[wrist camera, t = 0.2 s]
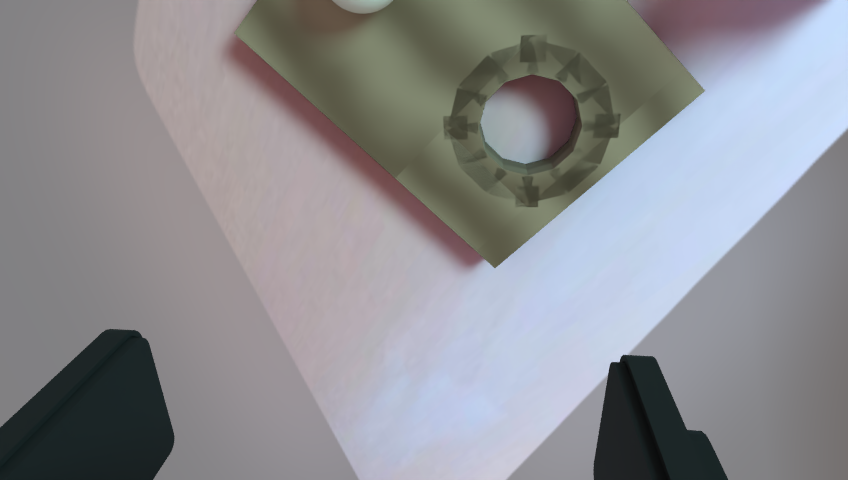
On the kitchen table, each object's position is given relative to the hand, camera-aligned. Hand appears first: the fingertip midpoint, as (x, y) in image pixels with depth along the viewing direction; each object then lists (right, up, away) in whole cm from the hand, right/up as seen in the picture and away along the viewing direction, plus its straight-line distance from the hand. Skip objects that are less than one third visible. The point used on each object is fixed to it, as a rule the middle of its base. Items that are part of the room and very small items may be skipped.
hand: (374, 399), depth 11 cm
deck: (+4, +16, +26) cm, 31 cm away
